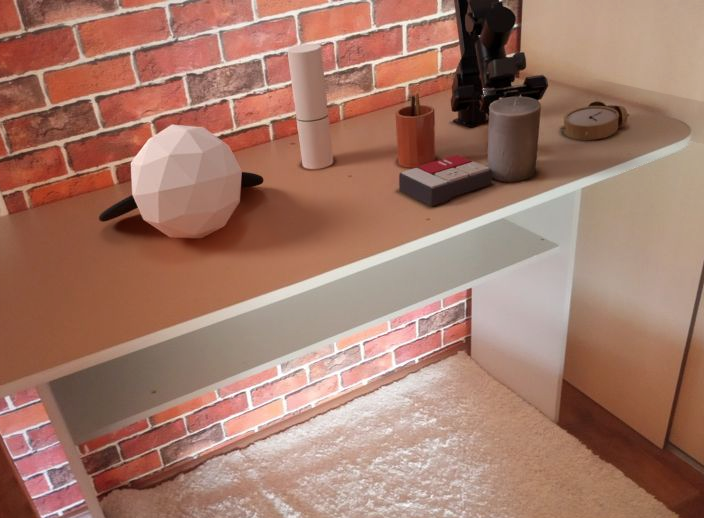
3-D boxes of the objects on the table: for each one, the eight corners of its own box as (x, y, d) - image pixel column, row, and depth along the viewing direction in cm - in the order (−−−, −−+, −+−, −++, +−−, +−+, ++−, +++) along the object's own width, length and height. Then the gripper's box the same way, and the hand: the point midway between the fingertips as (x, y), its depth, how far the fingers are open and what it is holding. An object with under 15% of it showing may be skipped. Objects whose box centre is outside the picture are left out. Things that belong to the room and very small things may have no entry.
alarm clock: (551, 120, 157) (599, 90, 161) (552, 140, 160) (599, 111, 164) (593, 131, 149) (641, 99, 152) (593, 152, 152) (641, 121, 155)
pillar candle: (542, 165, 144) (549, 91, 135) (525, 185, 138) (531, 110, 129) (496, 159, 149) (500, 87, 140) (478, 178, 143) (480, 105, 134)
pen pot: (391, 161, 157) (388, 111, 151) (420, 151, 160) (418, 102, 153) (413, 171, 151) (410, 119, 145) (442, 160, 154) (441, 109, 147)
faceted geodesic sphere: (112, 267, 123) (75, 142, 117) (108, 250, 151) (78, 147, 144) (300, 221, 131) (275, 100, 124) (263, 212, 158) (241, 113, 152)
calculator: (493, 166, 138) (431, 185, 133) (492, 187, 141) (431, 206, 135) (457, 152, 147) (398, 169, 141) (456, 172, 149) (398, 190, 144)
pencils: (406, 156, 155) (403, 91, 147) (418, 152, 157) (416, 88, 148) (414, 159, 153) (412, 94, 145) (426, 155, 154) (424, 90, 146)
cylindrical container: (334, 155, 164) (322, 42, 150) (332, 167, 158) (319, 50, 144) (304, 158, 165) (289, 45, 151) (300, 170, 159) (285, 54, 145)
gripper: (453, 45, 138) (465, 119, 136) (548, 32, 138) (563, 105, 135) (445, 76, 149) (456, 145, 147) (534, 63, 149) (547, 132, 146)
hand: (505, 132), depth 143 cm, fingers closed, pressing on pillar candle
